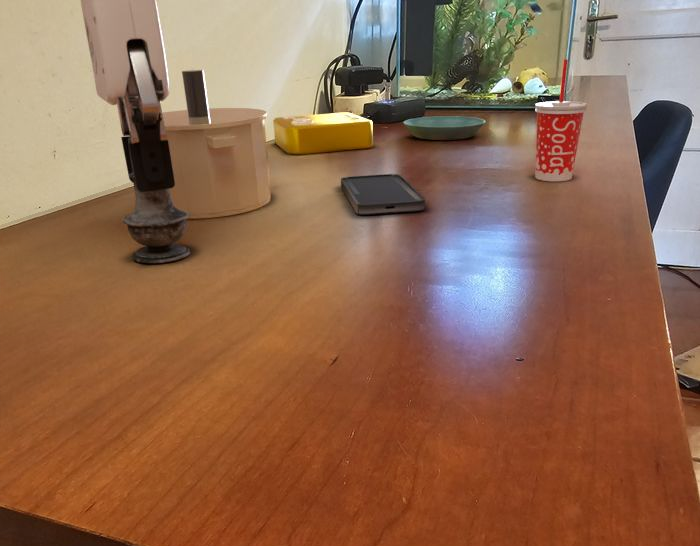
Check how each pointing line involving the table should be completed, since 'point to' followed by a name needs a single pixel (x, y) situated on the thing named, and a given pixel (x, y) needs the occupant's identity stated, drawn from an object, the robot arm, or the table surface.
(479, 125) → the saucer
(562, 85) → the beverage cup
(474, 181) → the table surface
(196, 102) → the pot lid
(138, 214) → the salt shaker
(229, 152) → the pot
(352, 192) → the phone
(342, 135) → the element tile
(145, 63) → the robot arm
